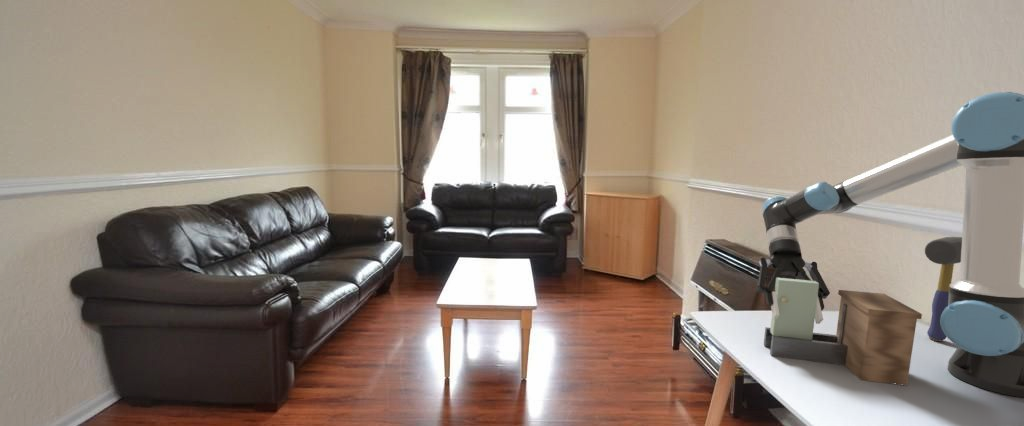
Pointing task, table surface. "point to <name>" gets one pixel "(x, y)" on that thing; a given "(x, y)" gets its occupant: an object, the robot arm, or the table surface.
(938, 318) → the rubber mallet
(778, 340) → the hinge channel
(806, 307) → the cabinet door
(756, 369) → the table surface
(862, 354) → the walnut cabinet
